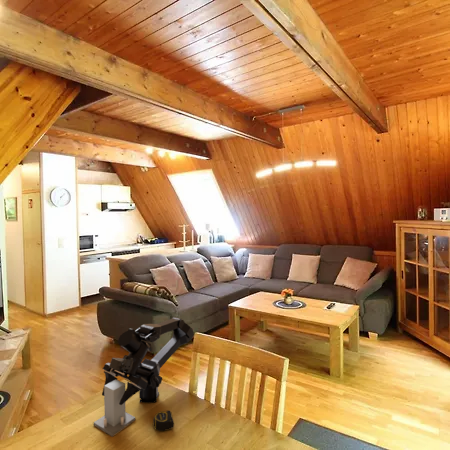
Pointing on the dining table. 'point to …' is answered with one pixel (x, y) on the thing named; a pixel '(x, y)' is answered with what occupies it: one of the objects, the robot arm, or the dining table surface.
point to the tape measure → (163, 421)
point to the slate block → (114, 402)
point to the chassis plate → (115, 429)
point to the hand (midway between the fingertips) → (111, 400)
